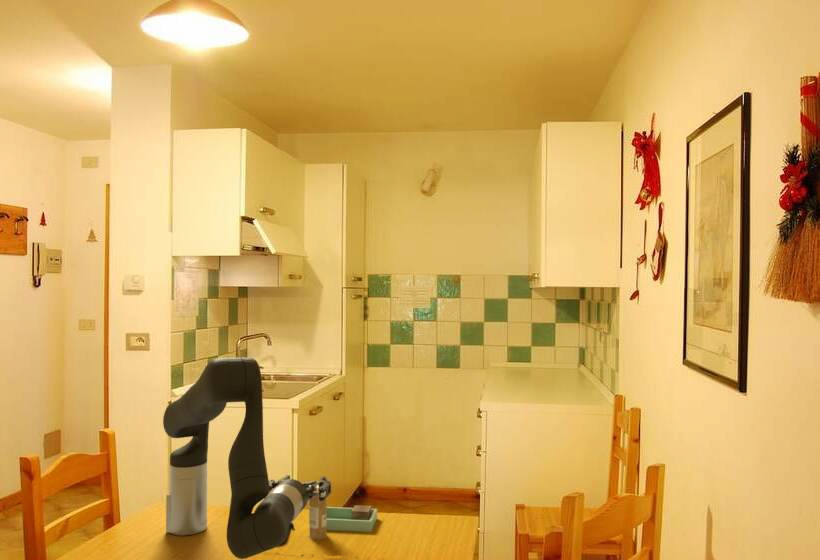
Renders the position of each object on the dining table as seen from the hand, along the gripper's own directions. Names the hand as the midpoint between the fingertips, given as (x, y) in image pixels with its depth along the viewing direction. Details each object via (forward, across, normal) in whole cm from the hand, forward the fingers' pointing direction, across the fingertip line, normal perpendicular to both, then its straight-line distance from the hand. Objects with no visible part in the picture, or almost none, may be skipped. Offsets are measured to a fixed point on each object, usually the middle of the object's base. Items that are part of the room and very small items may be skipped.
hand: (306, 480), depth 147 cm
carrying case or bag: (+11, +12, +18) cm, 25 cm away
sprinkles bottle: (+11, 0, +18) cm, 21 cm away
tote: (+20, -5, +18) cm, 28 cm away
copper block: (+21, -9, +17) cm, 29 cm away
